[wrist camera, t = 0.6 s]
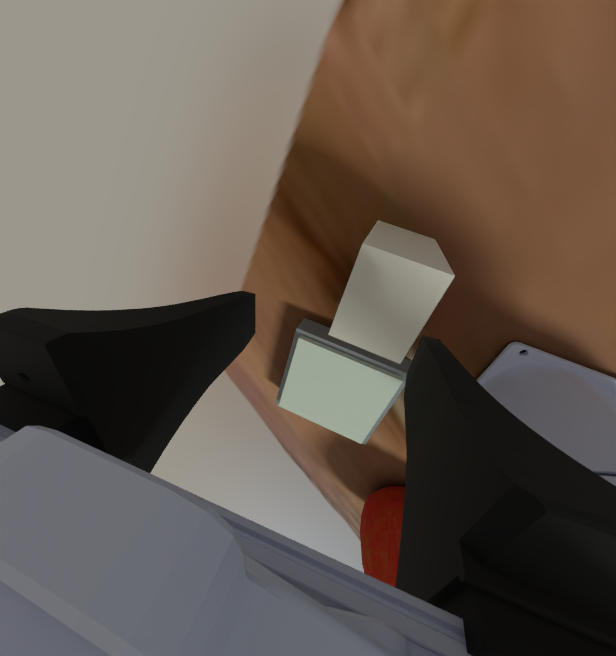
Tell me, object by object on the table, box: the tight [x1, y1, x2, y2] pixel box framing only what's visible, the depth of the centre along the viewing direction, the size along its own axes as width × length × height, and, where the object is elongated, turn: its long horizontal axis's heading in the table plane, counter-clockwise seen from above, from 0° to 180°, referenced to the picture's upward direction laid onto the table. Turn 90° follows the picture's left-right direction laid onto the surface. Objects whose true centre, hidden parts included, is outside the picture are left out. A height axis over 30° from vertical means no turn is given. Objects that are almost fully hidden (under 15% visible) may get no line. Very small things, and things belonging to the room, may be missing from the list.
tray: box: [275, 318, 412, 445], centre depth 24 cm, size 10×10×2 cm
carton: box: [328, 220, 455, 364], centre depth 15 cm, size 4×5×8 cm
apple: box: [360, 486, 405, 587], centre depth 27 cm, size 11×11×11 cm
